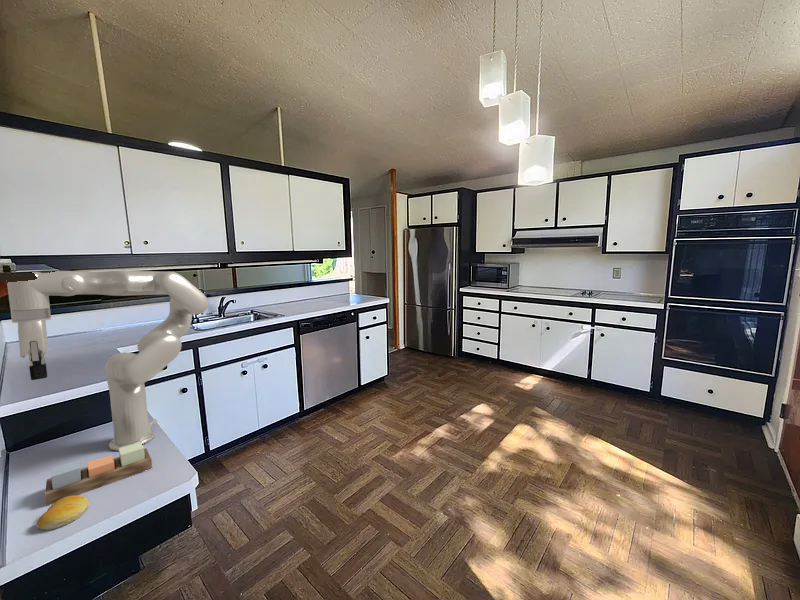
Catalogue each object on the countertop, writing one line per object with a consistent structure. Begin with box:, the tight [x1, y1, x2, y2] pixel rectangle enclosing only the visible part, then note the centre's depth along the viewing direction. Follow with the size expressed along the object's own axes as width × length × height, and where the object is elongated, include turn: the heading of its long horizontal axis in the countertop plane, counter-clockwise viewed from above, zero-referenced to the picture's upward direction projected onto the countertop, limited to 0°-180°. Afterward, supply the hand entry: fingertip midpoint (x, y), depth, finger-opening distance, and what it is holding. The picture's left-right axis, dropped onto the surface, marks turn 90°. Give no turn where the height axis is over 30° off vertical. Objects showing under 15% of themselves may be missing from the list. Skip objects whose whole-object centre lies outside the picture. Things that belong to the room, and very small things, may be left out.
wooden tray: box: [44, 447, 153, 506], centre depth 96 cm, size 22×9×3 cm, turn 135°
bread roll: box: [36, 494, 90, 531], centre depth 81 cm, size 8×9×4 cm
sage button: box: [118, 442, 145, 467], centre depth 101 cm, size 5×5×4 cm
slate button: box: [50, 459, 81, 490], centre depth 91 cm, size 5×5×4 cm
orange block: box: [87, 454, 115, 478], centre depth 96 cm, size 5×5×4 cm
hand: (39, 378), depth 96 cm, fingers closed
